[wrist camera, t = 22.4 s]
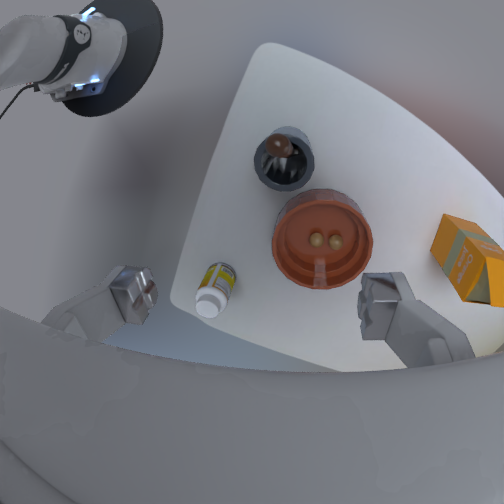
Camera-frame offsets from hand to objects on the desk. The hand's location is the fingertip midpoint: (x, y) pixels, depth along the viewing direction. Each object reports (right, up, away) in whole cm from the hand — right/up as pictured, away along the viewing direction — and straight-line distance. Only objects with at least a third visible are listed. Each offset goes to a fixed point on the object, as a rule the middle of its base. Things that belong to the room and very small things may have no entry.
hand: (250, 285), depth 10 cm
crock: (+5, +17, +28) cm, 33 cm away
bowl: (+11, +4, +34) cm, 36 cm away
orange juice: (+37, +4, +29) cm, 47 cm away
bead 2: (+14, +3, +32) cm, 35 cm away
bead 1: (+10, +3, +33) cm, 35 cm away
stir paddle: (+5, +16, +28) cm, 32 cm away
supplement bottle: (-6, -3, +42) cm, 42 cm away
